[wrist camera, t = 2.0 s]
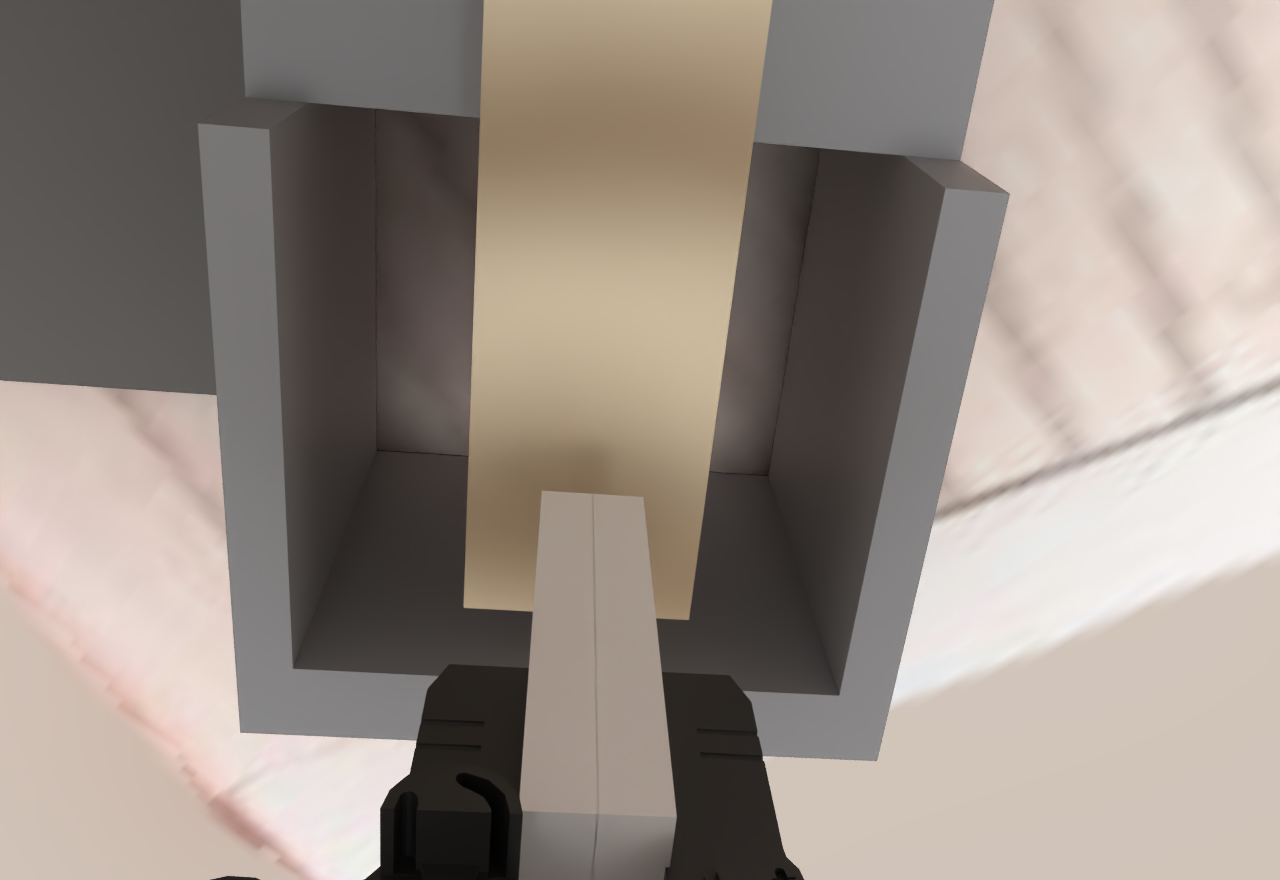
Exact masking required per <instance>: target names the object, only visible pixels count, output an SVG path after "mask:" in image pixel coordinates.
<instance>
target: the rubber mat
mask: <svg viewBox="0 0 1280 880" xmlns="http://www.w3.org/2000/svg"><path fill="white" fill-rule="evenodd" d="M243 98H245V79H244V60H243V41H242V21H241V2H240V0H0V380H4V381H18V382H33V383H48V384H62V385H77V386H92V387H106V388H121V389H136V390H150V391H165V392H180V393H195V394H209V395H217V391H216V377H215V363H214V348H213V334H212V320H211V305H210V291H209V277H208V263H207V248H206V234H205V220H204V205H203V191H202V177H201V162H200V148H199V134H198V123H199V122H201V121H203V120H205V119H207V118H208V117H210V116H212V115H214V114H216V113H217V112H219V111H221V110H223V109H225V108H226V107H228V106H230V105H232V104H234V103H235V102H237V101H239V100H241V99H243Z"/></svg>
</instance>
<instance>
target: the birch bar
mask: <svg viewBox="0 0 1280 880" xmlns="http://www.w3.org/2000/svg"><path fill="white" fill-rule="evenodd" d="M772 1H773V0H484V15H483V44H482V74H481V104H480V134H479V163H478V193H477V223H476V253H475V283H474V312H473V342H472V372H471V402H470V431H469V461H468V491H467V521H466V550H465V580H464V608H476V609H495V610H513V611H532V612H533V606H534V592H535V579H536V565H537V551H538V537H539V524H540V510H541V496H542V491H556V492H572V493H588V494H604V495H620V496H636V497H643V499H644V509H645V518H646V528H647V537H648V547H649V556H650V566H651V576H652V585H653V595H654V604H655V614H656V618H661V619H679V620H689V616H690V608H691V601H692V594H693V586H694V579H695V571H696V564H697V557H698V549H699V542H700V534H701V527H702V519H703V512H704V505H705V497H706V490H707V482H708V475H709V468H710V460H711V453H712V445H713V438H714V431H715V423H716V416H717V408H718V401H719V394H720V386H721V379H722V371H723V364H724V356H725V349H726V342H727V334H728V327H729V319H730V312H731V305H732V297H733V290H734V282H735V275H736V268H737V260H738V253H739V245H740V238H741V231H742V223H743V216H744V208H745V201H746V193H747V186H748V179H749V171H750V164H751V156H752V149H753V142H754V134H755V127H756V119H757V112H758V105H759V97H760V90H761V82H762V75H763V68H764V60H765V53H766V45H767V38H768V30H769V23H770V16H771V8H772Z"/></svg>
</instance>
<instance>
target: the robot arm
mask: <svg viewBox="0 0 1280 880" xmlns="http://www.w3.org/2000/svg"><path fill="white" fill-rule="evenodd" d="M757 732H758V730H757V726H756V721H755V717H754V712H753V707H752V703H751V701H750V700H749V698H748V697H747V696H746V695H745V693H744V692H743V691H742V690H741V689H740V687H739V686H738V685H737V684H736V682H735V681H734V680H733V679H732V678H731V676H730V675H714V674H694V673H674V672H662V671H661V662H660V652H659V642H658V633H657V623H656V614H655V604H654V595H653V585H652V576H651V566H650V556H649V547H648V537H647V528H646V518H645V509H644V499H643V497H636V496H620V495H604V494H588V493H572V492H556V491H542V496H541V510H540V524H539V537H538V551H537V565H536V579H535V592H534V606H533V620H532V633H531V647H530V661H529V668H519V667H499V666H479V665H459V664H449V665H448V666H447V667H446V668H445V670H444V671H443V672H442V673H441V674H440V675H439V676H438V677H437V679H436V680H435V681H434V682H433V683H432V684H431V685H430V686H429V688H428V689H427V693H426V698H425V703H424V708H423V712H422V717H421V724H420V727H419V732H418V737H417V742H416V749H415V752H414V757H413V761H412V766H411V771H410V774H409V775H408V776H406V777H405V778H404V779H403V780H401V781H400V782H399V783H398V784H396V785H395V786H394V787H393V788H392V789H390V791H389V793H388V795H387V797H386V799H385V801H384V802H383V804H382V806H381V808H380V861H381V866H380V867H379V868H378V869H377V870H376V871H374V872H373V873H372V874H371V875H370V876H368V877H367V878H366V879H364V880H804V879H803V876H802V875H801V872H800V870H799V869H798V868H797V867H796V866H795V865H794V864H793V863H792V862H791V861H790V860H789V859H788V858H787V857H786V855H785V852H784V850H783V846H782V842H781V837H780V833H779V828H778V823H777V819H776V814H775V809H774V805H773V800H772V796H771V791H770V786H769V781H768V777H767V772H766V768H765V763H764V761H763V754H762V749H761V744H760V740H759V737H758V736H757ZM212 880H259V879H257V878H251V877H235V876H226V877H221V878H217V879H212Z"/></svg>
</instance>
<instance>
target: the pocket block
mask: <svg viewBox="0 0 1280 880" xmlns="http://www.w3.org/2000/svg"><path fill="white" fill-rule="evenodd" d="M240 2H241V21H242V41H243V60H244V79H245V98H243V99H241V100H239V101H237V102H235V103H234V104H232V105H230V106H228V107H226V108H225V109H223V110H221V111H219V112H217V113H216V114H214V115H212V116H210V117H208V118H207V119H205V120H203V121H201V122H199V123H198V134H199V148H200V162H201V177H202V191H203V205H204V220H205V234H206V248H207V263H208V277H209V291H210V305H211V320H212V334H213V348H214V363H215V377H216V391H217V405H218V420H219V434H220V448H221V463H222V477H223V491H224V506H225V520H226V534H227V548H228V563H229V577H230V591H231V606H232V620H233V634H234V649H235V663H236V677H237V691H238V706H239V720H240V733H261V734H283V735H306V736H328V737H351V738H373V739H395V740H417V737H418V732H419V727H420V724H421V717H422V712H423V708H424V703H425V698H426V693H427V689H428V688H429V686H430V685H431V684H432V683H433V682H434V681H435V680H436V679H437V677H438V676H439V675H440V674H441V673H442V672H443V671H444V670H445V668H446V667H447V666H448V665H449V664H459V665H479V666H499V667H519V668H529V661H530V647H531V633H532V620H533V612H532V611H513V610H495V609H476V608H464V580H465V550H466V521H467V491H468V461H469V457H467V456H452V455H437V454H421V453H406V452H390V451H377V405H376V199H375V109H386V110H397V111H409V112H420V113H431V114H442V115H453V116H465V117H476V118H480V104H481V74H482V44H483V15H484V0H240ZM993 4H994V0H773V1H772V8H771V16H770V23H769V30H768V38H767V45H766V53H765V60H764V68H763V75H762V82H761V90H760V97H759V105H758V112H757V119H756V127H755V134H754V142H757V143H768V144H779V145H791V146H802V147H813V148H821V150H820V156H819V162H818V168H817V175H816V181H815V187H814V193H813V199H812V206H811V212H810V218H809V224H808V231H807V237H806V243H805V249H804V256H803V262H802V268H801V274H800V281H799V287H798V293H797V299H796V306H795V312H794V318H793V324H792V331H791V337H790V343H789V349H788V356H787V362H786V368H785V374H784V381H783V387H782V393H781V399H780V405H779V412H778V418H777V424H776V430H775V437H774V443H773V449H772V455H771V462H770V468H769V474H768V476H760V475H745V474H729V473H714V472H709V475H708V482H707V490H706V497H705V505H704V512H703V519H702V527H701V534H700V542H699V549H698V557H697V564H696V571H695V579H694V586H693V594H692V601H691V608H690V616H689V620H679V619H661V618H656V623H657V633H658V642H659V652H660V662H661V671H662V672H674V673H694V674H714V675H730V676H731V678H732V679H733V680H734V681H735V682H736V684H737V685H738V686H739V687H740V689H741V690H742V691H743V692H744V693H745V695H746V696H747V697H748V698H749V700H750V701H751V703H752V707H753V712H754V717H755V721H756V726H757V730H758V732H757V736H758V737H759V740H760V744H761V749H762V754H763V756H776V757H799V758H822V759H844V760H867V761H877V759H878V754H879V750H880V746H881V742H882V737H883V733H884V729H885V725H886V720H887V716H888V712H889V708H890V703H891V699H892V695H893V690H894V686H895V682H896V678H897V673H898V669H899V665H900V661H901V656H902V652H903V648H904V643H905V639H906V635H907V631H908V626H909V622H910V618H911V614H912V609H913V605H914V601H915V597H916V592H917V588H918V584H919V579H920V575H921V571H922V567H923V562H924V558H925V554H926V550H927V545H928V541H929V537H930V532H931V528H932V524H933V520H934V515H935V511H936V507H937V503H938V498H939V494H940V490H941V486H942V481H943V477H944V473H945V468H946V464H947V460H948V456H949V451H950V447H951V443H952V439H953V434H954V430H955V426H956V421H957V417H958V413H959V409H960V404H961V400H962V396H963V392H964V387H965V383H966V379H967V375H968V370H969V366H970V362H971V357H972V353H973V349H974V345H975V340H976V336H977V332H978V328H979V323H980V319H981V315H982V310H983V306H984V302H985V298H986V293H987V289H988V285H989V281H990V276H991V272H992V268H993V263H994V259H995V255H996V251H997V246H998V242H999V238H1000V234H1001V229H1002V225H1003V221H1004V217H1005V212H1006V208H1007V204H1008V199H1009V195H1010V194H1009V193H1008V192H1006V191H1005V190H1003V189H1002V188H1000V187H999V186H997V185H996V184H994V183H993V182H991V181H990V180H988V179H987V178H985V177H984V176H982V175H981V174H979V173H978V172H976V171H975V170H973V169H972V168H970V167H969V166H967V165H966V164H964V163H963V162H961V161H960V159H961V154H962V149H963V145H964V140H965V135H966V130H967V126H968V121H969V116H970V112H971V107H972V102H973V98H974V93H975V88H976V83H977V79H978V74H979V69H980V65H981V60H982V55H983V51H984V46H985V41H986V36H987V32H988V27H989V22H990V18H991V13H992V8H993Z"/></svg>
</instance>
